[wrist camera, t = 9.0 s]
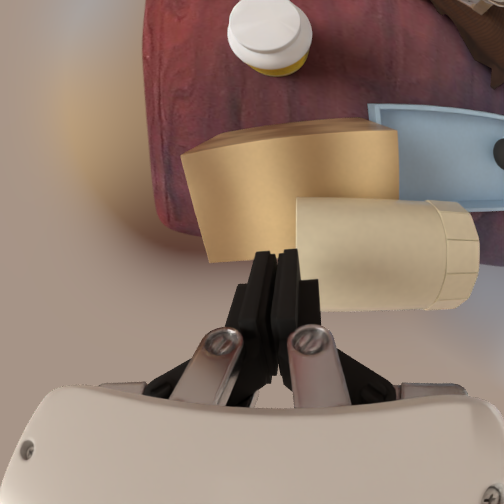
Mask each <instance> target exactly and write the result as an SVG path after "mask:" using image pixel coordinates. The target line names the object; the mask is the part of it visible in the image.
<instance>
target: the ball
mask: <svg viewBox="0 0 504 504" xmlns="http://www.w3.org/2000/svg"><path fill="white" fill-rule="evenodd" d="M493 156H494V159H495V162H496V163H497V165H498V166H499V167H500V168H501V169H503V170H504V138H503V139H500V140H498V141H497V142H496V143H495V145H494V148H493Z"/></svg>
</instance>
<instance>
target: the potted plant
mask: <svg viewBox="0 0 504 504" xmlns="http://www.w3.org/2000/svg"><path fill="white" fill-rule="evenodd" d="M430 1H431V2H432V3H433V5H434V7H435V8H436V10H437V12H438V13H440V14H441V15H443V14H447V15H448V16H449V17H450V18H451V20H452V21H453V22H454V24H455V25H456V27H457V28H458V30H459V32H460V34H461V36H462V38H463V40H464V42H465V43H466V45H467V47H468V49H469V50H470V52H471V54H472V56H473V58H474V59H475V60H476V61H478V62H480V63H482V64H484V65H486V66H488V67H490V68H492V73H491V85H490V87H492V88H493V89H496V88H497V87H499V86H500V85H502V84H503V83H504V0H430Z"/></svg>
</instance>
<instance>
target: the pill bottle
mask: <svg viewBox="0 0 504 504" xmlns="http://www.w3.org/2000/svg"><path fill="white" fill-rule="evenodd" d="M228 41H229V44H230V46H231V48H232V50H233V52H234V53H235V54H236V55H237V56H238V57H239V58H240V59H241V60H242V61H243V62H245V63H246V64H247V65H249V66H250V67H252V68H253V69H255V70H256V71H258V72H259V73H261V74H263V75H267V76H271V77H283V76H287V75H290V74H292V73H294V72H296V71H297V70H299V69H300V68H301V67H302V66H303V64H304V63H305V61H306V59H307V57H308V53H309V48H310V45H311V41H312V28H311V24H310V22H309V20H308V18H307V16H306V15H305V14H304V13H303V11H302V10H301V9H299V8H298V7H297V6H295V5H294V4H293V3H292V2H290V1H289V0H241V1H240V2H239V3H238V4H237V5H236V6H235V7H234V8H233V10H232V12H231V14H230V18H229V26H228Z"/></svg>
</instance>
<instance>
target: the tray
mask: <svg viewBox="0 0 504 504" xmlns="http://www.w3.org/2000/svg"><path fill="white" fill-rule="evenodd" d="M367 105H368V113H369V121H372V122H375V123H378V124H381V125H384V126H386V127H389V128H392V129H395V130H397V131H398V148H399V199H400V200H416V201H425V200H437V201H449V202H457V203H459V204H460V205H461V206H462V207H463V208H464V209H466V210H467V211H468V212H481V211H504V170H503V169H501V168H500V167H499V166H498V165H497V163H496V162H495V159H494V156H493V148H494V145H495V143H496V142H497V141H498V140H500V139H503V138H504V115H500V114H495V113H489V112H483V111H477V110H470V109H462V108H454V107H445V106H433V105H418V104H389V103H370V104H367Z"/></svg>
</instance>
